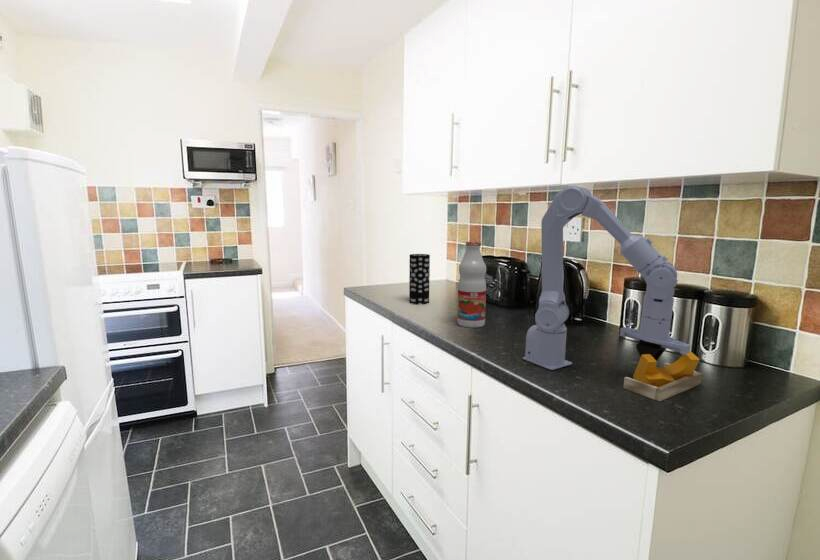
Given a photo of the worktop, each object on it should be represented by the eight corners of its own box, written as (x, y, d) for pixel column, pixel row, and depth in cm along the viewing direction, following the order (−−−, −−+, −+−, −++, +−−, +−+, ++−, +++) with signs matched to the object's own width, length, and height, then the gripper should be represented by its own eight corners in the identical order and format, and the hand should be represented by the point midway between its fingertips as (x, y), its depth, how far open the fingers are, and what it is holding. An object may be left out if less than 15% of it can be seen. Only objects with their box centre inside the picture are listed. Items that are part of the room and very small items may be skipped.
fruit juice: (483, 321, 149) (486, 241, 145) (486, 328, 140) (489, 243, 135) (456, 320, 150) (458, 240, 145) (457, 327, 141) (459, 242, 136)
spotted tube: (428, 300, 183) (428, 253, 180) (430, 304, 175) (430, 256, 172) (408, 300, 183) (408, 253, 179) (410, 304, 174) (410, 256, 171)
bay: (623, 388, 94) (624, 377, 93) (665, 372, 103) (666, 362, 102) (659, 401, 87) (660, 390, 87) (700, 383, 96) (702, 373, 96)
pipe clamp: (644, 390, 93) (654, 367, 89) (632, 376, 96) (641, 354, 93) (694, 387, 94) (705, 364, 91) (681, 374, 98) (691, 351, 95)
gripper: (700, 322, 91) (691, 382, 93) (634, 307, 103) (627, 361, 105) (684, 327, 87) (674, 389, 90) (617, 311, 99) (610, 366, 102)
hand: (648, 374), depth 97 cm, fingers closed, pressing on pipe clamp
